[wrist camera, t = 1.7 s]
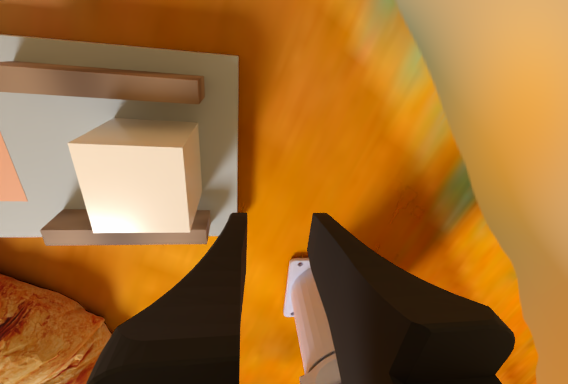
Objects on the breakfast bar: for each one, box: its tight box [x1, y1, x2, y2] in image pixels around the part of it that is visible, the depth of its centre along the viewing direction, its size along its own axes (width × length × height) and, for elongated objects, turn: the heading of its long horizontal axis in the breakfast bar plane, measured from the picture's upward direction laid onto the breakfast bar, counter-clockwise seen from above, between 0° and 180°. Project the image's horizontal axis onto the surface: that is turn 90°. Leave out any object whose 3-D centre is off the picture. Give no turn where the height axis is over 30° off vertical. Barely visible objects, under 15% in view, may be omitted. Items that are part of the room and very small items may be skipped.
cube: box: [67, 118, 202, 233], centre depth 16 cm, size 5×5×5 cm
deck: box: [0, 34, 239, 237], centre depth 18 cm, size 28×13×2 cm, turn 85°
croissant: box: [0, 274, 112, 384], centre depth 24 cm, size 21×10×8 cm, turn 26°
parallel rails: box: [0, 61, 211, 246], centre depth 17 cm, size 10×11×2 cm
